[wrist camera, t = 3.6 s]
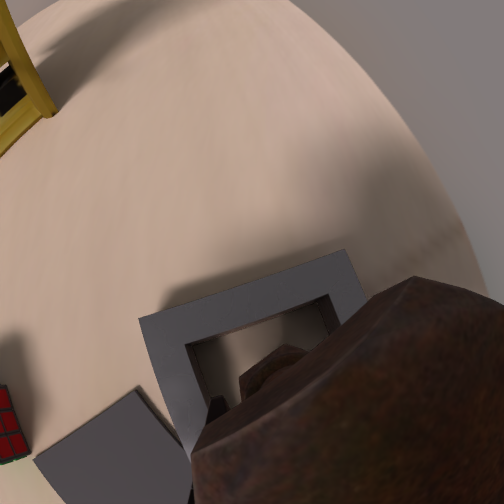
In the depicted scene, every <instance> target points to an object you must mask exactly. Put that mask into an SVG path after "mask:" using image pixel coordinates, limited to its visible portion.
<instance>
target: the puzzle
mask: <svg viewBox="0 0 504 504" xmlns="http://www.w3.org/2000/svg"><path fill="white" fill-rule="evenodd" d="M20 430H21V429H20V426H19V423H18V421H17V418H16V415H15V412H14V410H13V406H12V403H11V400H10V397H9V393H8V390H7V387H6V385H1V384H0V465H4V464H7V463H10V462H13V460H19V459H22V458H25V457H27V455H30V454H31V452H30V450H29V448H28V446H27V443H26V441H25V439H24V436H23V434H22V431H20Z"/></svg>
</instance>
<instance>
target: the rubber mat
mask: <svg viewBox="0 0 504 504" xmlns="http://www.w3.org/2000/svg"><path fill="white" fill-rule="evenodd" d="M33 461H34V463H35V464H36V466H37V467H38V469H39V470H40V471H41V473H42V474H43V476H44V477H45V478H46V480H47V481H48V482H49V483H50V485H51V486H52V487H53V489H54V490H55V491H56V492H57V494H58V495H59V496H60V497H61V498H62V500H63V501H64V502H65V503H66V504H187V502H188V498H189V494H190V489H192V488H191V485H192V469H191V463H190V460H189V458H188V456H187V454H186V452H185V450H184V447H183V446H182V445H181V444H180V442H179V441H178V440H177V439H176V438H175V437H174V436H173V435H172V433H171V432H170V431H169V430H168V429H167V428H166V427H165V425H164V424H163V423H162V422H161V421H160V419H159V418H158V417H157V416H156V414H155V413H154V412H153V411H152V410H151V408H150V407H149V406H148V404H147V403H146V402H145V401H144V399H143V398H142V397H141V395H140V394H139V393H138V391H137V390H134V391H133V392H131V393H130V394H129V395H127V396H126V397H124V398H123V399H122V400H120V401H119V402H117V403H116V404H115V405H113V406H112V407H110V408H109V409H107V410H106V411H105V412H103V413H102V414H100V415H99V416H97V417H96V418H95V419H93V420H92V421H90V422H89V423H87V424H86V425H84V426H83V427H81V428H80V429H79V430H77V431H76V432H74V433H73V434H71V435H70V436H68V437H67V438H65V439H64V440H62V441H61V442H59V443H58V444H56V445H55V446H53V447H51V448H50V449H48V450H47V451H45V452H44V453H42V454H41V455H39V456H37V457H36V458H34V459H33Z"/></svg>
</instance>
